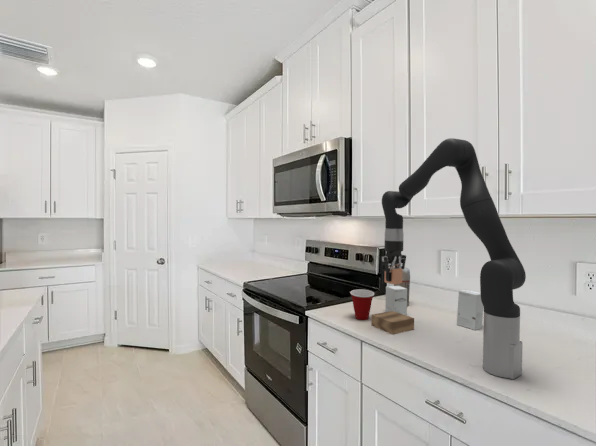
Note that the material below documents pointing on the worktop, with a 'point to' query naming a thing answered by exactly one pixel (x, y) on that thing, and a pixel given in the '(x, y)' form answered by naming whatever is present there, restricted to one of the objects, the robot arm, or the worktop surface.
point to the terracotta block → (395, 276)
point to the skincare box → (470, 309)
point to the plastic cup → (362, 303)
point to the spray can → (405, 281)
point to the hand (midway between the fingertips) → (393, 280)
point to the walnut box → (392, 322)
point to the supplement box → (396, 299)
